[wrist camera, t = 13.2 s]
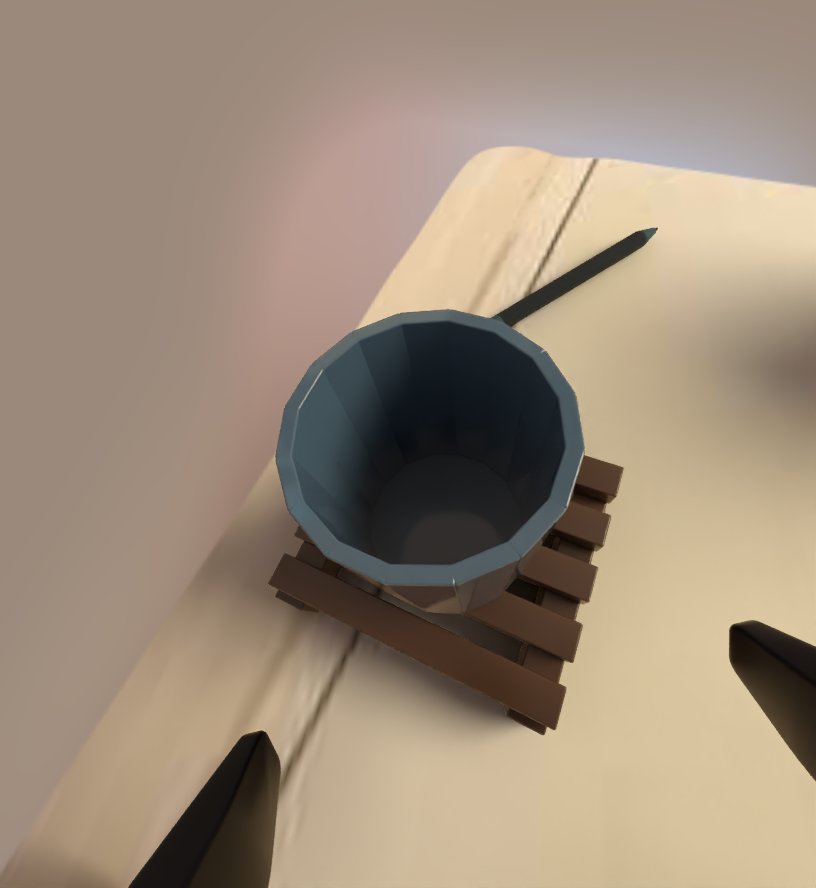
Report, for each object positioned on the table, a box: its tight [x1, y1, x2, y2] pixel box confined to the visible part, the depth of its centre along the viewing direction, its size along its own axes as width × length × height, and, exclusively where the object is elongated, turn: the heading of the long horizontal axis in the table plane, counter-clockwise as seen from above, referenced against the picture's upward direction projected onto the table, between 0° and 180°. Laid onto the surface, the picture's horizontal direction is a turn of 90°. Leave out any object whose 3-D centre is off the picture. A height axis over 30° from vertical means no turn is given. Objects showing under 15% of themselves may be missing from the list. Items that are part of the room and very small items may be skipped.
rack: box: [268, 455, 624, 735], centre depth 19 cm, size 11×12×3 cm
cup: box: [276, 309, 585, 613], centre depth 13 cm, size 7×7×9 cm
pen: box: [490, 228, 658, 327], centre depth 25 cm, size 1×16×1 cm, turn 122°
